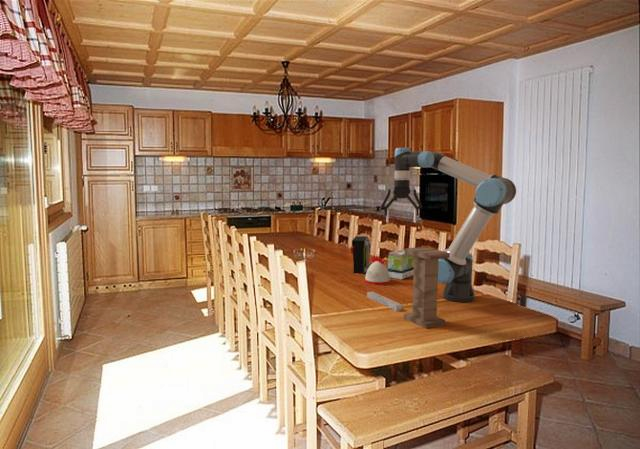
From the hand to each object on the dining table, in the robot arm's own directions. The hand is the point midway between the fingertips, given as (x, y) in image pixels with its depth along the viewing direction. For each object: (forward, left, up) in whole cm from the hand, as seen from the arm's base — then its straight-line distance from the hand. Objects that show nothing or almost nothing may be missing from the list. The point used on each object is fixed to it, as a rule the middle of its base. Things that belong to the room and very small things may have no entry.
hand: (401, 222), depth 240 cm
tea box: (-6, -40, -37) cm, 55 cm away
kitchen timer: (+9, -25, -37) cm, 45 cm away
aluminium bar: (+10, +17, -37) cm, 42 cm away
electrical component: (+17, -54, -37) cm, 67 cm away
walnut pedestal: (-5, +43, -36) cm, 57 cm away
